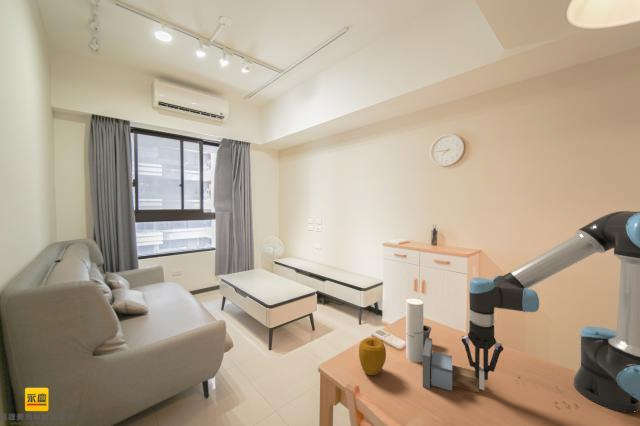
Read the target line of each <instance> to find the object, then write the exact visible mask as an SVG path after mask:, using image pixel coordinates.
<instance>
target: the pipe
mask: <svg viewBox="0 0 640 426" xmlns="http://www.w3.org/2000/svg"><path fill="white" fill-rule="evenodd" d="M431 330H432V327H431V326H429V325H425V324H423V347H424V345H425V340H426V337H427V338H430V334H431Z"/></svg>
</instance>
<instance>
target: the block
mask: <svg viewBox="0 0 640 426" xmlns="http://www.w3.org/2000/svg"><path fill="white" fill-rule="evenodd" d="M452 365H453V355H449V354H445V353H441V352H437V351H432V361H431V382H430V386H432V387H433V386H434V387H437V388H441V389H443V390H447V391H449V392H450V391H451V392H453V385H452Z"/></svg>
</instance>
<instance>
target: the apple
mask: <svg viewBox="0 0 640 426" xmlns="http://www.w3.org/2000/svg"><path fill="white" fill-rule="evenodd" d="M358 358H359V362H360V366H361V369H362V370H363V372H364V373H365V374H366V375H369V376H375V375H378V374H379V373H380V372H381V371H382V368H383V367H384V365H385V362H386V359H387V350H386V346H385V344H384V342H383V341H382V340H380V339H379V338H375V337H367V338H364V339H363V340H361V341H360V343H359V347H358Z"/></svg>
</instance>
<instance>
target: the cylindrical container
mask: <svg viewBox="0 0 640 426" xmlns="http://www.w3.org/2000/svg"><path fill="white" fill-rule="evenodd" d="M423 325H424V301H423V300H422V299H418V298H407V299H405V347H406V348H405V357H406V359H407V360H409V361H411V362H412V363H413V362H414V363H421V362H422V363H423V350H424V346H423Z"/></svg>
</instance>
